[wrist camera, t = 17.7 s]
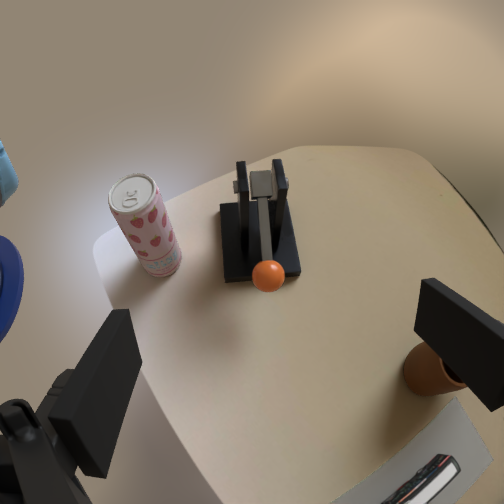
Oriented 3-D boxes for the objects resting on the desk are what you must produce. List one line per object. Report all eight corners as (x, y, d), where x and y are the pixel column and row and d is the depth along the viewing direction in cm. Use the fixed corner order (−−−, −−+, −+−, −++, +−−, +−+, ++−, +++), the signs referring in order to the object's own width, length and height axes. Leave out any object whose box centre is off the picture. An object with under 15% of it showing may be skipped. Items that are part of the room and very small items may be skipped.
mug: (465, 338, 38) (504, 317, 30) (471, 387, 34) (513, 375, 26) (399, 345, 38) (434, 325, 30) (403, 401, 34) (441, 393, 26)
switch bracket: (299, 276, 43) (319, 217, 31) (225, 283, 42) (216, 224, 30) (286, 204, 49) (296, 136, 36) (220, 209, 48) (212, 141, 36)
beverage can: (153, 285, 42) (115, 223, 29) (137, 254, 44) (99, 187, 31) (189, 265, 43) (166, 196, 30) (171, 235, 46) (145, 163, 33)
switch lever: (283, 288, 37) (288, 292, 34) (252, 291, 37) (254, 296, 33) (273, 175, 37) (277, 168, 33) (242, 177, 37) (244, 170, 33)
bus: (309, 515, 27) (316, 525, 24) (455, 395, 34) (472, 391, 30) (363, 575, 22) (373, 587, 18) (493, 459, 28) (511, 459, 24)
